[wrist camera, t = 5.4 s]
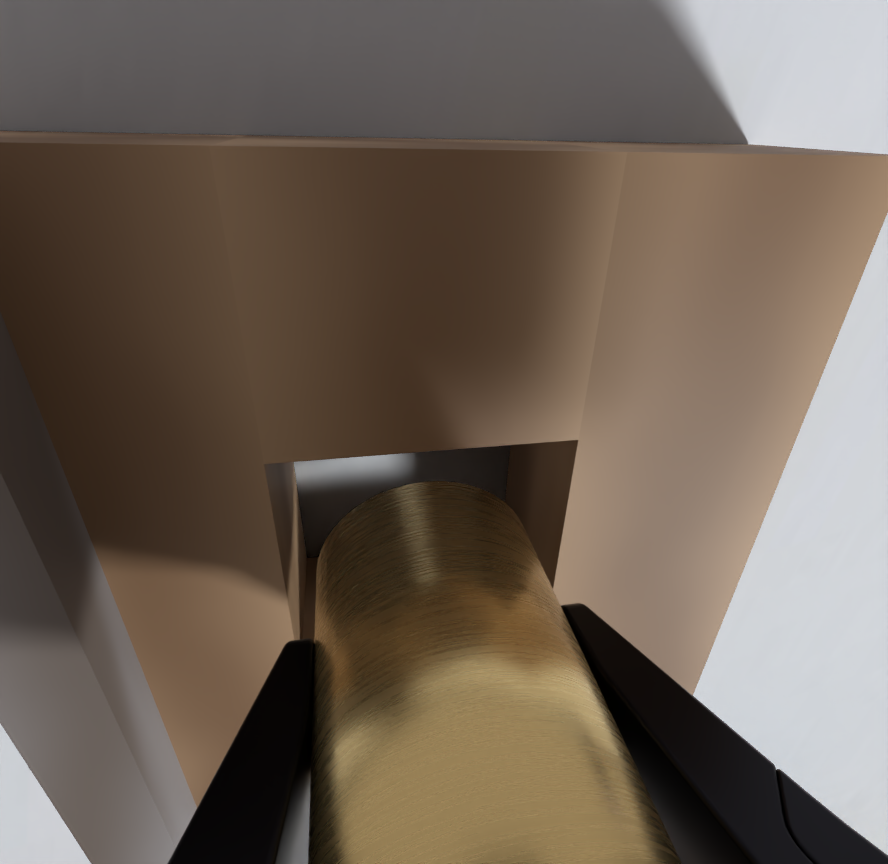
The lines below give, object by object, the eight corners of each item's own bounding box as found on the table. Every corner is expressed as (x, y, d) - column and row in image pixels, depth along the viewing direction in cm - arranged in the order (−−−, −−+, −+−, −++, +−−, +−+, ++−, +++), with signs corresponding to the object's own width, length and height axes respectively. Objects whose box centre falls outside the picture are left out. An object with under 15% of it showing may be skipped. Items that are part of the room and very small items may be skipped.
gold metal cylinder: (326, 653, 11) (323, 1301, 5) (305, 492, 9) (255, 1253, 3) (518, 627, 12) (718, 1170, 6) (538, 471, 10) (884, 1059, 4)
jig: (165, 690, 16) (108, 888, 12) (-45, 129, 9) (-375, 144, 5) (620, 626, 18) (704, 774, 14) (750, 144, 11) (996, 163, 7)
